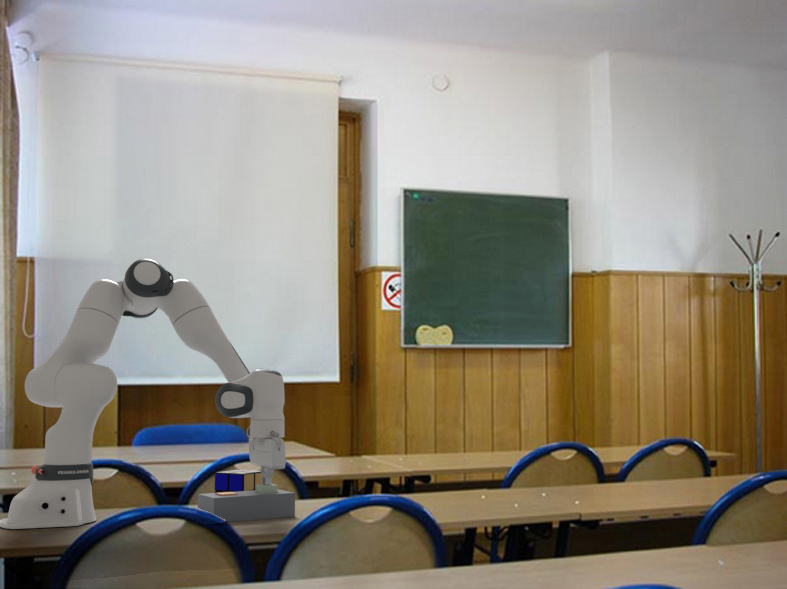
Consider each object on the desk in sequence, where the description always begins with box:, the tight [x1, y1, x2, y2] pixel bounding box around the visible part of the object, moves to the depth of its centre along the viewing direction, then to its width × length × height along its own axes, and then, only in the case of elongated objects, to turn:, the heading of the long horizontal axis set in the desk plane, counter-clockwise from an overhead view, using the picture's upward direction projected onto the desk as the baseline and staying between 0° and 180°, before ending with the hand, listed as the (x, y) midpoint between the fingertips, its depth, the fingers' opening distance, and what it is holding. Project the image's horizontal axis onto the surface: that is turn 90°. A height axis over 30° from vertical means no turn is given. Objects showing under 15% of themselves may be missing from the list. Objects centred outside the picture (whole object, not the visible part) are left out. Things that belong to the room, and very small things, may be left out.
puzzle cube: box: [214, 469, 263, 493], centre depth 257 cm, size 10×10×10 cm
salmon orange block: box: [216, 492, 238, 496], centre depth 235 cm, size 4×4×6 cm
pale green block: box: [256, 483, 278, 494], centre depth 241 cm, size 4×4×6 cm
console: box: [197, 489, 296, 523], centre depth 238 cm, size 22×11×6 cm, turn 122°
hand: (267, 484), depth 242 cm, fingers closed
